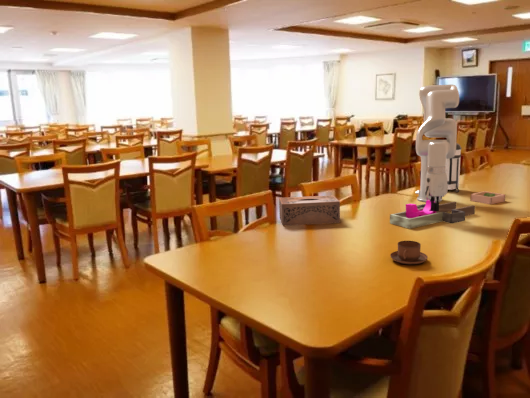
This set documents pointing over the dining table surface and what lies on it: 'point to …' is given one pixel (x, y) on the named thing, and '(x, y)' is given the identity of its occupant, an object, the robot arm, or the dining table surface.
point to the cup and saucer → (409, 253)
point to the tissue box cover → (309, 210)
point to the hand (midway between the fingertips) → (434, 210)
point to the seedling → (489, 194)
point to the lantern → (453, 170)
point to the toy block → (414, 212)
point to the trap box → (433, 216)
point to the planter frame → (487, 198)
